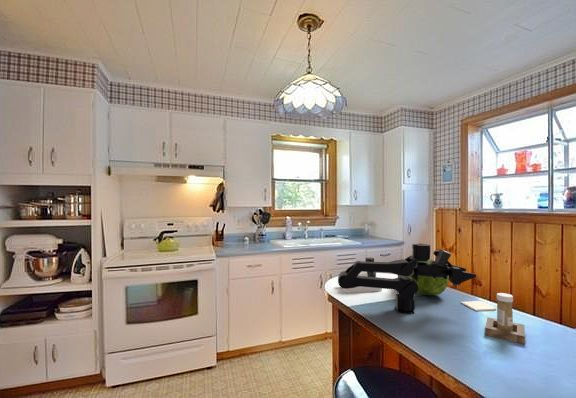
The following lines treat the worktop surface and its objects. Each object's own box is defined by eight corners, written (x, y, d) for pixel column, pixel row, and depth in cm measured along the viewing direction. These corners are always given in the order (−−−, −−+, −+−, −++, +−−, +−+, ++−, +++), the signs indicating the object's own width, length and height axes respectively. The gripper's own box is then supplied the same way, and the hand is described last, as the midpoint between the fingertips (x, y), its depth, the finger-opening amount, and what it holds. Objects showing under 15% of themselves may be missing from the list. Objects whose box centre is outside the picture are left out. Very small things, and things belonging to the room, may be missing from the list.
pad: (475, 311, 120) (475, 309, 120) (460, 303, 129) (460, 301, 129) (496, 310, 120) (496, 308, 120) (479, 302, 129) (479, 300, 129)
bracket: (345, 293, 144) (345, 270, 144) (340, 286, 154) (340, 265, 154) (382, 291, 146) (382, 269, 146) (375, 285, 156) (374, 264, 156)
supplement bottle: (376, 280, 164) (376, 259, 164) (364, 280, 165) (364, 259, 165) (375, 277, 171) (375, 257, 170) (363, 276, 172) (363, 256, 172)
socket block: (485, 334, 99) (485, 327, 99) (487, 323, 108) (487, 317, 108) (525, 344, 93) (525, 336, 93) (524, 331, 101) (524, 324, 101)
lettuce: (422, 285, 156) (413, 253, 158) (460, 291, 134) (449, 255, 136) (396, 295, 150) (387, 262, 152) (432, 303, 128) (421, 265, 130)
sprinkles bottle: (515, 337, 97) (515, 297, 97) (499, 335, 99) (499, 296, 99) (509, 331, 102) (509, 293, 102) (494, 329, 103) (494, 291, 103)
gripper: (437, 254, 110) (482, 257, 107) (423, 246, 128) (462, 248, 126) (436, 283, 110) (481, 287, 107) (422, 271, 129) (461, 274, 126)
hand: (470, 272), depth 117 cm, fingers open, 9 cm apart
